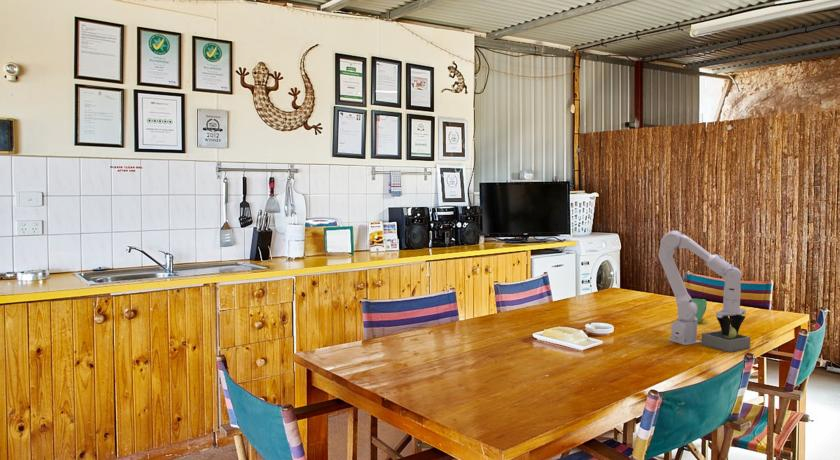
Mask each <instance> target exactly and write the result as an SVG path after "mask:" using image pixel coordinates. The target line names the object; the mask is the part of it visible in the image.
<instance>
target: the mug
mask: <svg viewBox="0 0 840 460" xmlns="http://www.w3.org/2000/svg"><path fill="white" fill-rule="evenodd" d="M691 299H692V300H693V302H695V303H696V304H697V306H698V312H697V313H696V314H695V316H696V318H697V325H699V324H700V323H701V321H702V319H703V317H704V314H705V312H706V310H707V304H708V302H707V300H706V299H704V298H703V299H701V298H692V297H691Z"/></svg>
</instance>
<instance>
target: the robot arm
mask: <svg viewBox="0 0 840 460" xmlns="http://www.w3.org/2000/svg"><path fill="white" fill-rule="evenodd" d="M677 248H678V249H687V250H689V251H690V252H692V253H693V254H695V255H696V256H697V257H699V258H701V259H702V260H703V261H705V265H706V267H707V268H709V270H712V271H713V272H714V273H716V274H717V275H718V276H719V277H723V279H724V286H723V299H722V300H723V301H722V310H719V311H716V313H715V317H716V320H717V321H718V323H719V326H720V331H721V330H722V335H725V336H728V335H729V330H730V326H731V327H733V328H735V330H736V332H737V334H739V331H740V328H741V325H742V323H743V322H744V320H745V319H746V316H745V315H746V313H747V309H745V308H741V293H742V290H741V280H742V277H743V273H742V271H741V270H740V269H739V268H738V267H737V266H735V264H733V263H731V264H730V263H729V262H728V261H727V260H725V259H724V256H722V254H720V255H718V254H711V253H710V252H709V251H707V249H705V248H703V247H702V246H701V245H699V244H698V243H697V242H696V241H694V240H693V239H691V238H690V237H689V236H687V235H685V234H684V233H682V232H681V231H679V230H677V229H676V230H675V229H674V230H671V231H668V232H666V233H665V234H664V235H663V237H661V240H660V245H659V250H658V259H659V261H660V264H661V266H662V269H663V271H664V273H665V276H666V278H667V281H668V284H669V285H670V289H672V293H673V295H674V298H675V304H676V306H677V315H678V316H677V318H676V320H675V321H673V322H672V323H671V326H670V328H671V329H670V330H671V331H670V338H669V339H668V341H670V342H673V343H677V344H680V345H684V346H690V345H695V344H701V340H699V339H697V337H698V324H697V318H696V316H695V314H696V313H697V312H698V306H697V304H696V303H695V302H693V300H692V299H691V298H692V296H691V295H690V294H689V293H688V290H687V287H686V286H685V283H684V281H683V279H682V275H681V273H680V270H679V269H678V266H677V264H676V262H675V259H674V257H673V256H674V254H675V253H676V249H677Z"/></svg>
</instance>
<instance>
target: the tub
mask: <svg viewBox="0 0 840 460" xmlns="http://www.w3.org/2000/svg"><path fill="white" fill-rule="evenodd" d="M700 341H701V343H700V344H701V346H703V347H707V348H711V349H713V350H718V351H722V352H726V353H728V354H729V353H733V352H734V353H735V352H739V351H745V350H746V351H747V350H751V336H747V335H743V334H739V333H738V334H736V337H735V338H733V339H727V338H725V337H724V335H722V330H721V329H720V330H714V331H710V332H709V331H708V332H704V333H701V339H700Z"/></svg>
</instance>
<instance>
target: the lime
mask: <svg viewBox="0 0 840 460" xmlns="http://www.w3.org/2000/svg"><path fill="white" fill-rule="evenodd" d="M736 334H737V332H736V330H735V328H733V327H731V325H730V330H729V335H728V336H725V335H724V337H725V338H727V339H733V338H735V337H736Z"/></svg>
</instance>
